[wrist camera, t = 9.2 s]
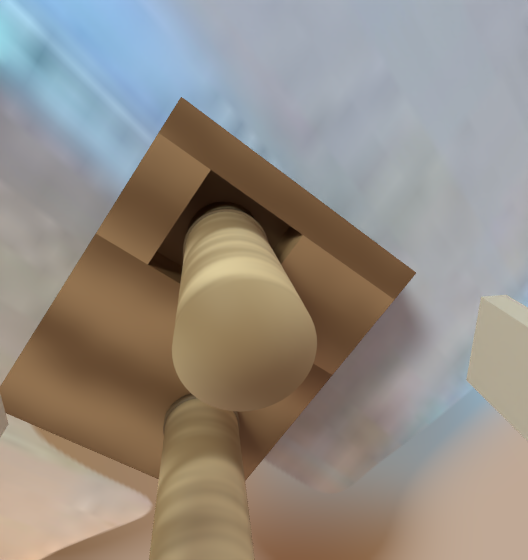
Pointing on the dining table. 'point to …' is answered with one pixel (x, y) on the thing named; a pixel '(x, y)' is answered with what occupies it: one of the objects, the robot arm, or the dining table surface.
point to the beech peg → (238, 315)
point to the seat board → (161, 322)
